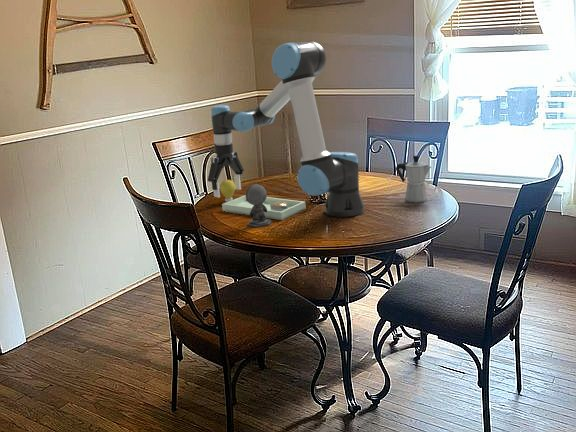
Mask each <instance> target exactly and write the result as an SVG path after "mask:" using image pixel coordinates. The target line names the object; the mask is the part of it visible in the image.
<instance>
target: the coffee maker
mask: <svg viewBox="0 0 576 432" xmlns="http://www.w3.org/2000/svg"><path fill="white" fill-rule="evenodd" d="M419 156H420V155H413V156H412V157H413V158H412V159H413V161H412V162H408V161H405V162H402V163H401V162H400V163H397V165H396V167H395V171H396V172H397V174H398V176H399V177H400V180H401V181H402V183H404V182H405V181H406V180H407V182H408V183H407V184H406V192H405V196H404V197H405V198H404V200H405V201H406V202H407V203H414V204H415V203H416V204H418V203H424V202H427V201H428V196H427V189H426V184H425V183H424V182H425V180H426V176H427V174H428V173H429V171H430V169H432V166H429V164H428V163H425V162H422V161H419V158H420V157H419ZM400 169H401V170H403V171H405V172H406V178H407V179H406V178H405V177H404V175H403V174H402V172H401V170H400Z"/></svg>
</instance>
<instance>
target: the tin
mask: <svg viewBox="0 0 576 432" xmlns="http://www.w3.org/2000/svg"><path fill="white" fill-rule="evenodd" d="M270 208H271V210H273V211H283V210H286V209H288V203H286V202H274V203H272V204H271V205H270Z"/></svg>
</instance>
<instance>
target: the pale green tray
mask: <svg viewBox="0 0 576 432" xmlns="http://www.w3.org/2000/svg"><path fill="white" fill-rule="evenodd" d="M274 202H286V203H288V209H286V210H283V211H273V210H271V208H270V205H271V204H272V203H274ZM262 204H263V205H264V206H265V207H266V208H267V212H264V213H265V218H266V219H270V220H271V219H272V220H277V221H278V220H279V221H283V220H285V219H287V218H290V217H292V216H294V215H297V214H298V213H300V212H303V211H304V210H306V209H307V207H306V201H301V200H294V199H286V198H280V197H279V198H278V197H269V196H267V197H266V200H265V201H264V202H263V203H262ZM221 206H222V207H221V208H222V212H224V211H225V212H226V213H232V214H240V215H244V214H245V215H244V216H250V212H251V209H252V207H253V206H254V205H252V204H250V203H248V201H247V200H246V194H244V195H242V196H239V197H237V198H235V199H233V200H231V201H229V202H226V201H225V202H223V203H222V204H221ZM225 212H224V213H225Z"/></svg>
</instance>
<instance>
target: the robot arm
mask: <svg viewBox="0 0 576 432" xmlns="http://www.w3.org/2000/svg"><path fill="white" fill-rule="evenodd" d="M326 64H327V53H326V51H325V49H324V47H323V46H322V45H321V44H320V43H318V42H316V41H312V40H310V41H308V40H307V41H290V42H286V43H283V44H280V45H279V46H278V47H276V48H275V50H274V53H273V54H272V58H271V68H272V71H273V74H274V75H276V77H277V78H279V79H281V81H280V82H279V83H278V84H277V85H276V86H275V87H274V88H273V89H272V90H271V92H269V94H268V95H267V96H266V97H265V98H264V99H263V100H262V101H261V102H260V103H259V104H258V105H257V106H256V107H255V108H251V109H246V110H240V111H231V109H230V106H229V105H227V104H226V105H225V104H223V105H214V106H212V107H211V109H210V110H211V111H210V112H211V116H210V117H211V121H212V122H211V124H212V134H213V143H214V153H215V155H216V157H211V160H210V162H211V164H210V168H209V171H208V177H207V181H208V182H210V183H211V186H212V188H211V189H212V190H213V197H215V198H221V190H220V183H219V181H218V180H219V178H220V175H221V174H222V171H223V169H224V167H226V166H228V167H230V169H231V170H232V171H233V172H234V173H233V178H234V181H233V182H234V184H235V186H236V189H235V190H239V191H240V190H242V184H241V182H242V177H241V175H243V172H245V170H244V168H243V165H242V163H241V161H240V159H239V156H238V152H236V151H234V148H233V147H234V146H233V145H234V144H233V143H232V142H233V135H232V134H233V133H232V131H237V132H241V133H243V132H249V131H251V129H254V128H259V127H265V126H268V125H270V124H273V122H274V121H275V118H276V114H277V113H279V112H280V111H281V109H282V108H283V107H285V106H286V105H287V104H288V102H289V101H290V103H291V106H292V111H293V115H294V122H295V126H296V129H297V134H298V138H299V142H300V148H301V152H302V157H301V158H300V160H299V162H300V166H301V167H299V169H298V172H297V174H296V178H297V182H298V186H299V187H300V189H301V190H302V191H303V192H304V193H306V194H307V195H309V196H313V197H315V196H316V197H317V196H323V195H326V194H327V193H328V194H327V197H326V200H325V205H324V213H325V214H326V215H328V216H330V217H335V218H336V217H338V218H345V217H346V218H347V217H348V218H349V217H355V216H359V215H362V214H363V213H365V205H364V202H363V199H362V196H361V194H360V188H359V187H360V186H359V185H360V182H359V181H360V179H359V164H360V163H359V158H358V155H357V154H356V153H354V152H349V151H328V150H327V148H326V147H327V146H326V142H325V138H324V133H323V128H322V124H321V119H320V115H319V109H318V105H317V101H316V96H315V93H314V91H315V90H314V86H313V82H314V80H315V79H316V78H317V77H318V76H319V75H320V74H321V73H323V71H324V69H325V67H326Z"/></svg>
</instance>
